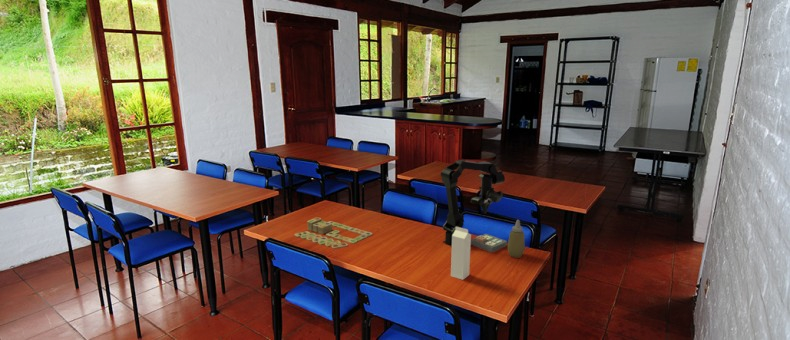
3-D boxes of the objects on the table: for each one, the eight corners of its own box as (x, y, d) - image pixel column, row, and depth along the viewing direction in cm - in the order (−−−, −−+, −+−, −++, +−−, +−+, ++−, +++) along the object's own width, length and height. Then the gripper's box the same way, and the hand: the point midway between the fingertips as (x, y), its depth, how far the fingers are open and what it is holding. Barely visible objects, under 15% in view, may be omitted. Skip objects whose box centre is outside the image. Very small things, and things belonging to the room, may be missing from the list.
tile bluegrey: (497, 246, 212) (497, 242, 212) (491, 243, 215) (491, 240, 214) (502, 244, 215) (502, 240, 214) (495, 241, 218) (496, 238, 217)
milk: (457, 271, 188) (458, 224, 183) (469, 275, 185) (471, 227, 180) (450, 276, 183) (452, 228, 178) (462, 280, 180) (464, 231, 175)
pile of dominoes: (291, 236, 228) (291, 226, 227) (327, 222, 249) (326, 213, 248) (339, 252, 208) (339, 241, 207) (373, 235, 230) (373, 225, 229)
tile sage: (487, 242, 216) (488, 239, 216) (481, 240, 219) (481, 236, 219) (492, 240, 219) (492, 237, 219) (486, 238, 222) (486, 234, 221)
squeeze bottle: (515, 260, 199) (517, 224, 194) (503, 253, 206) (505, 218, 201) (527, 256, 202) (530, 221, 198) (515, 250, 209) (518, 216, 205)
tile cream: (491, 249, 209) (491, 245, 208) (484, 246, 212) (485, 242, 211) (496, 246, 211) (496, 243, 211) (489, 244, 214) (489, 240, 214)
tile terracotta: (481, 242, 213) (481, 239, 212) (475, 240, 216) (475, 236, 215) (486, 240, 215) (486, 237, 215) (480, 238, 218) (480, 234, 218)
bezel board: (492, 252, 207) (492, 247, 206) (470, 244, 216) (470, 239, 216) (506, 245, 215) (507, 241, 214) (485, 238, 224) (485, 233, 224)
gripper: (488, 192, 211) (486, 221, 215) (509, 185, 223) (508, 213, 227) (470, 187, 219) (469, 215, 223) (492, 181, 231) (490, 208, 235)
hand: (485, 213), depth 227 cm, fingers closed
